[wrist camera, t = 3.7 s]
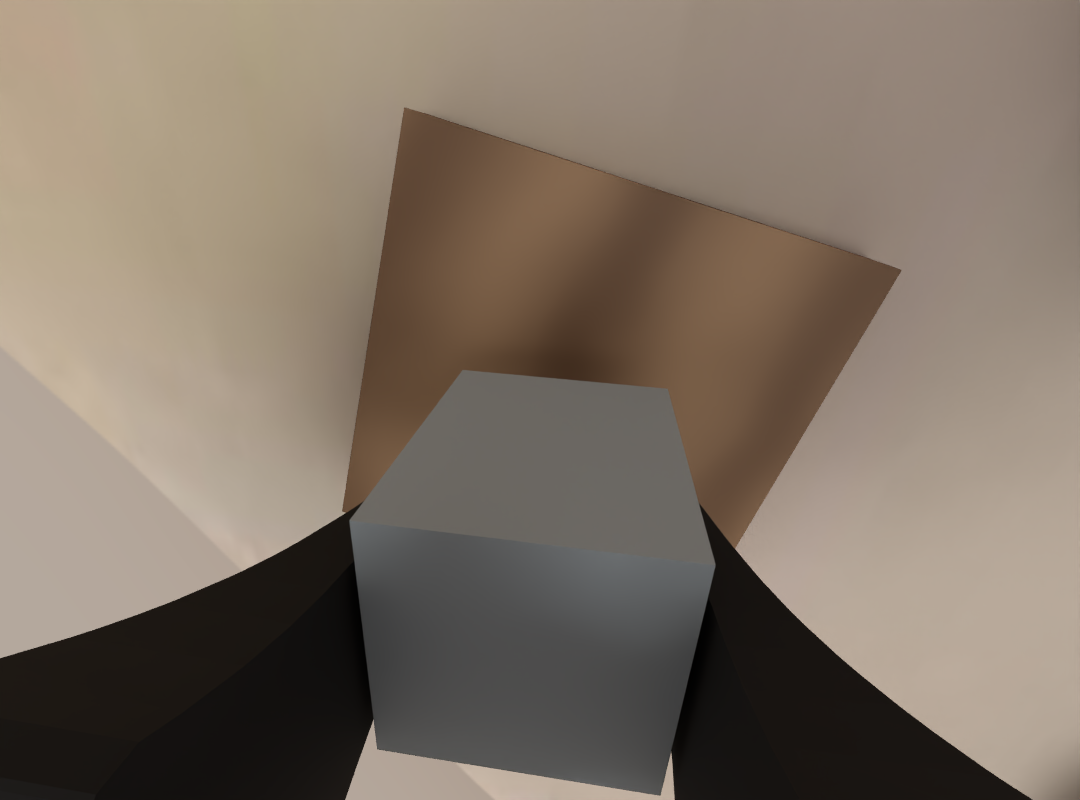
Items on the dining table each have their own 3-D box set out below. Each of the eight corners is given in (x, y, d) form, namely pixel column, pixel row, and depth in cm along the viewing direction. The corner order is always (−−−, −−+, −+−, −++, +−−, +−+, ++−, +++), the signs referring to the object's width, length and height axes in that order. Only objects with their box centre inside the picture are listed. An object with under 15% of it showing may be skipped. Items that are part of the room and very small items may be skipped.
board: (867, 258, 16) (901, 269, 14) (683, 584, 22) (690, 622, 20) (428, 114, 16) (404, 107, 14) (364, 482, 22) (342, 511, 20)
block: (667, 388, 11) (716, 564, 6) (640, 554, 13) (660, 795, 8) (462, 369, 11) (349, 520, 6) (464, 533, 13) (377, 749, 8)
